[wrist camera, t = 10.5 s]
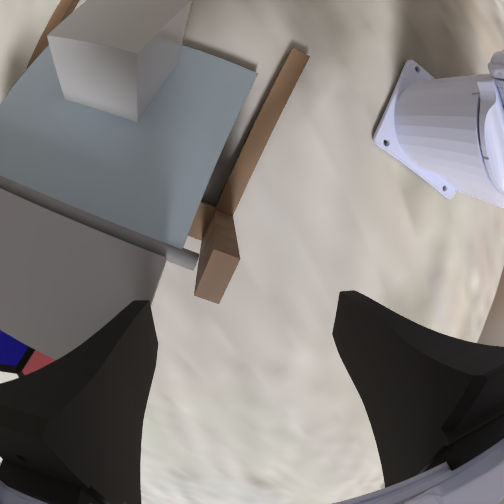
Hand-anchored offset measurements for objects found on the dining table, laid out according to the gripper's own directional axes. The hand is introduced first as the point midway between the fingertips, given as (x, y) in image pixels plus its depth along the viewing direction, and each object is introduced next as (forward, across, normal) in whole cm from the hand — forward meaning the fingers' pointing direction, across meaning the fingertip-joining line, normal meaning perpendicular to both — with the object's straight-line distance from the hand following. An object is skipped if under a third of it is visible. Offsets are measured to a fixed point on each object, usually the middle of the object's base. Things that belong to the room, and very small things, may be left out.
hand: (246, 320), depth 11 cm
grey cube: (+7, +6, -10) cm, 14 cm away
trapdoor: (+6, +8, -6) cm, 12 cm away
